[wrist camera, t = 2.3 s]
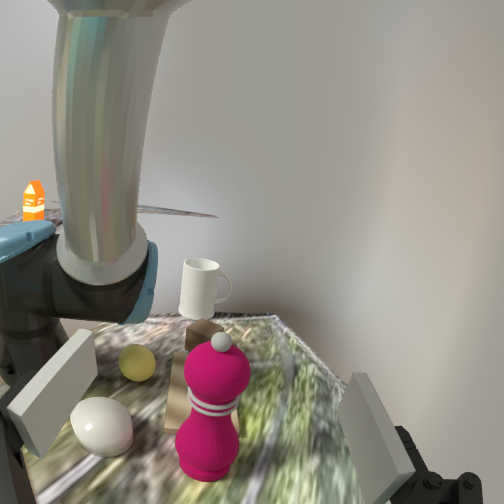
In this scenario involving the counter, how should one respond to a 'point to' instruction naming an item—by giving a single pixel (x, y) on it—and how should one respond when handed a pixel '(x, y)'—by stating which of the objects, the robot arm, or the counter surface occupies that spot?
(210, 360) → the pepper mill
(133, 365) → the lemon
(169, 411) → the serving board
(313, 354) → the counter surface
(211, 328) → the walnut block
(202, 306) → the mug
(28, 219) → the orange juice
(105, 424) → the white rounded piece
